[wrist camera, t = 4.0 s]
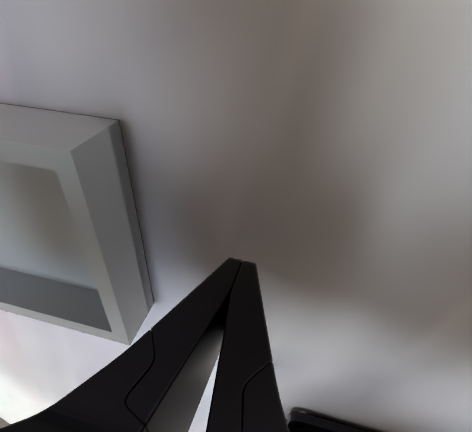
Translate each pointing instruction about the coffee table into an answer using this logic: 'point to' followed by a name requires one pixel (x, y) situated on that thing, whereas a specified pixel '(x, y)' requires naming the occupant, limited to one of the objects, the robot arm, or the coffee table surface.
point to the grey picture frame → (3, 423)
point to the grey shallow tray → (70, 224)
